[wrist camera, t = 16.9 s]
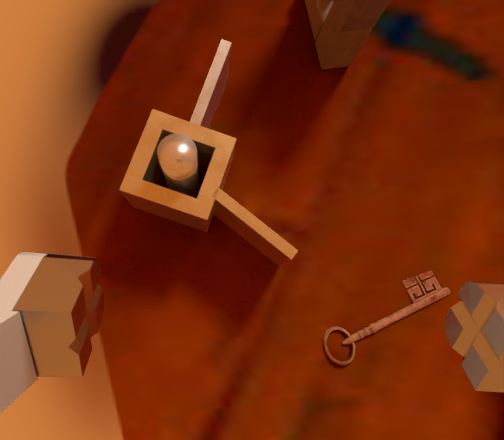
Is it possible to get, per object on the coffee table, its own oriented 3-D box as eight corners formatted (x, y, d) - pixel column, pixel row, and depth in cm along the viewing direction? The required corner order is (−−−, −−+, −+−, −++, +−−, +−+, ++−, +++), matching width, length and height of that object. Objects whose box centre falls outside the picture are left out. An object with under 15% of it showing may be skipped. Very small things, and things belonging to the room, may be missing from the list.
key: (427, 259, 46) (308, 316, 43) (431, 257, 45) (310, 316, 42) (454, 308, 45) (333, 370, 42) (459, 307, 44) (336, 371, 41)
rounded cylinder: (205, 186, 44) (205, 154, 34) (181, 205, 43) (174, 178, 33) (185, 164, 44) (179, 126, 34) (161, 183, 43) (149, 149, 34)
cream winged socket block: (280, 267, 43) (295, 260, 36) (129, 215, 42) (115, 199, 36) (327, 116, 47) (348, 84, 40) (189, 66, 46) (186, 26, 39)
